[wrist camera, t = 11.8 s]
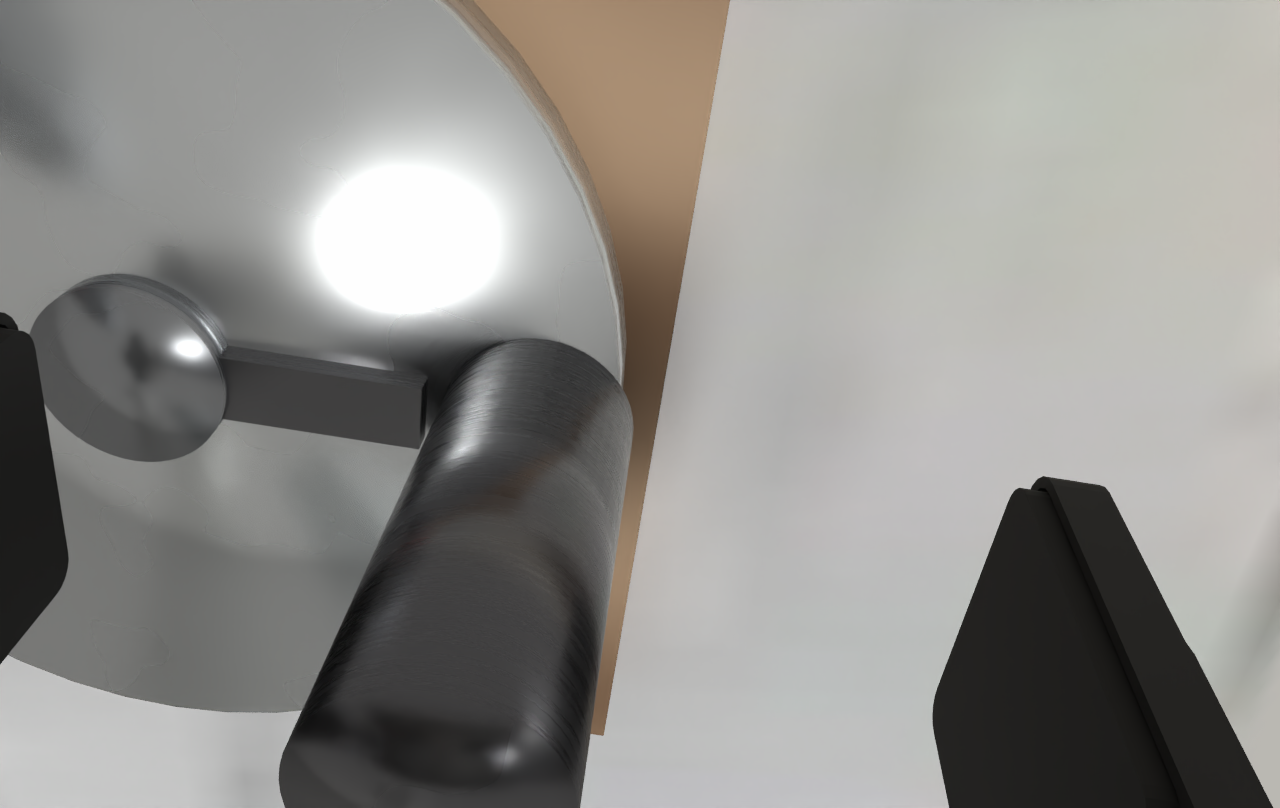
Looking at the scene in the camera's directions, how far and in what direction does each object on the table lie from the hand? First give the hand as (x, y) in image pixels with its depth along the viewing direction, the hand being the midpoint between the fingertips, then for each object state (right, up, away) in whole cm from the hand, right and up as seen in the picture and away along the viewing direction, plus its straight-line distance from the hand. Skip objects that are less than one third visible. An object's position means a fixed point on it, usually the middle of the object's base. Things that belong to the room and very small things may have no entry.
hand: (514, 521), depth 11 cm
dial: (-4, +2, +3) cm, 6 cm away
